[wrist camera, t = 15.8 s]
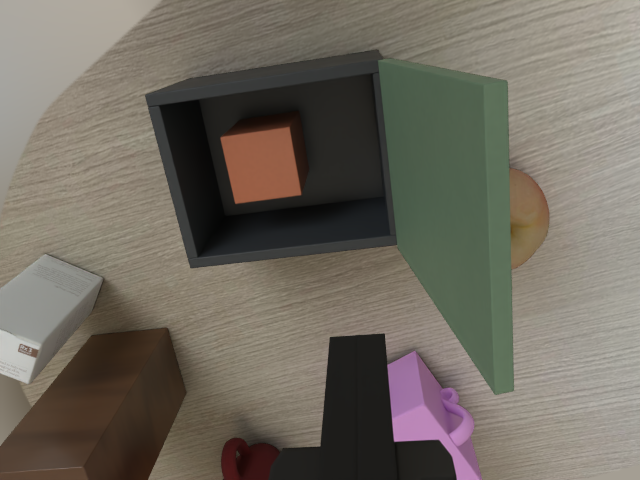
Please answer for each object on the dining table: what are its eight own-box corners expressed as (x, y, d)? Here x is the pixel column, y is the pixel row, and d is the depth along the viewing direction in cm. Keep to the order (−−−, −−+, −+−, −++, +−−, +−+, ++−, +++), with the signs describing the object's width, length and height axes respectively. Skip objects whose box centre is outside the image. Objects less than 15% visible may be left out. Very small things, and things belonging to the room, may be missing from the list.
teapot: (505, 438, 56) (535, 522, 47) (390, 490, 60) (397, 577, 51) (415, 310, 51) (429, 376, 42) (296, 375, 55) (284, 449, 46)
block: (239, 119, 45) (219, 137, 38) (299, 110, 44) (289, 126, 38) (251, 177, 46) (235, 204, 40) (309, 169, 46) (301, 195, 39)
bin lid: (494, 395, 23) (514, 391, 23) (483, 84, 18) (508, 80, 18) (397, 248, 38) (409, 246, 38) (377, 60, 33) (391, 58, 33)
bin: (220, 222, 49) (190, 268, 40) (187, 78, 44) (144, 94, 35) (393, 201, 47) (402, 244, 38) (378, 49, 43) (384, 58, 34)
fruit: (544, 225, 47) (578, 264, 40) (455, 258, 49) (473, 301, 42) (516, 142, 45) (547, 167, 37) (424, 180, 46) (437, 211, 39)
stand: (91, 335, 55) (-25, 474, 38) (167, 327, 54) (83, 466, 37) (114, 399, 58) (16, 555, 41) (186, 393, 57) (116, 550, 40)
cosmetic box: (35, 287, 53) (-50, 360, 42) (46, 249, 51) (-41, 314, 40) (96, 312, 54) (27, 390, 42) (108, 275, 52) (40, 346, 41)
